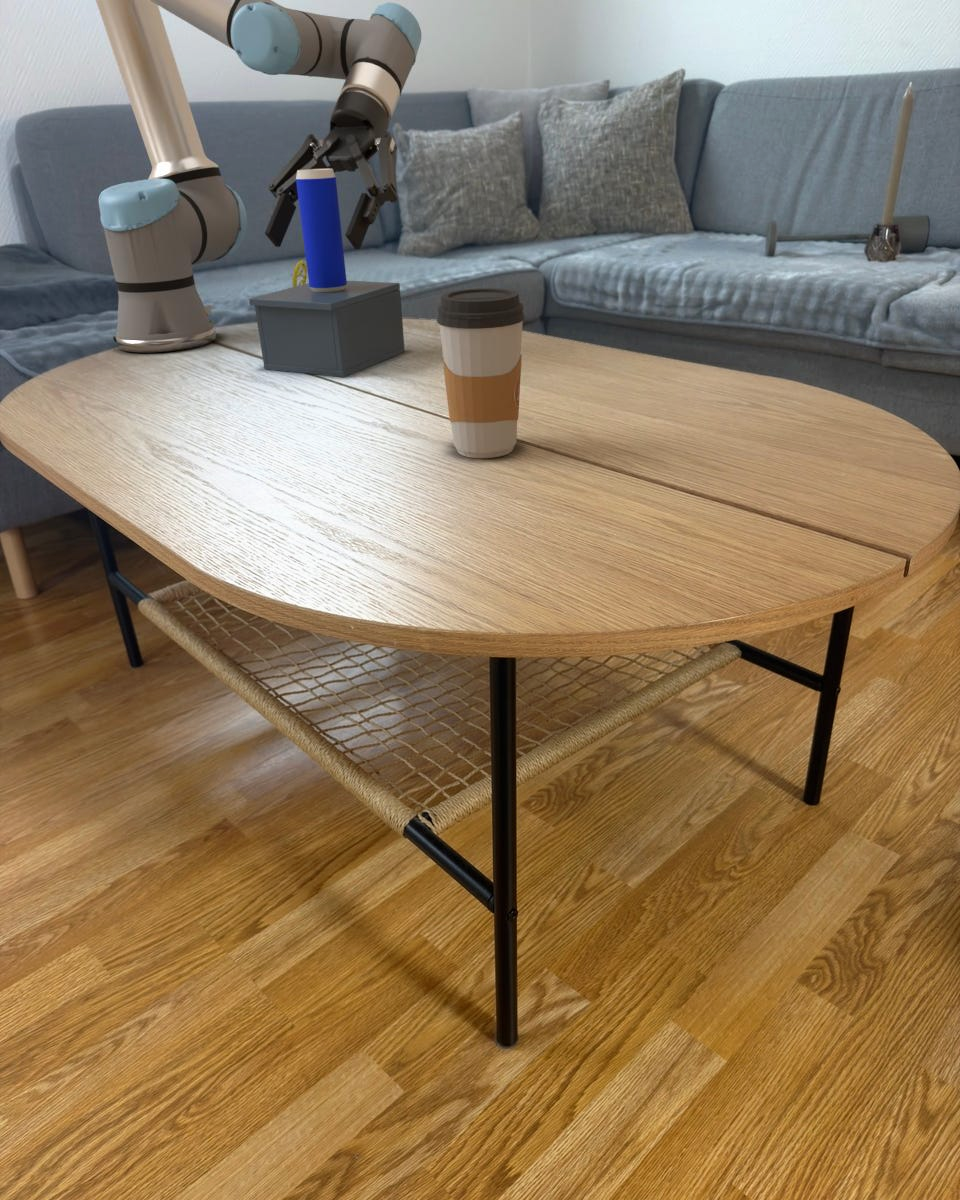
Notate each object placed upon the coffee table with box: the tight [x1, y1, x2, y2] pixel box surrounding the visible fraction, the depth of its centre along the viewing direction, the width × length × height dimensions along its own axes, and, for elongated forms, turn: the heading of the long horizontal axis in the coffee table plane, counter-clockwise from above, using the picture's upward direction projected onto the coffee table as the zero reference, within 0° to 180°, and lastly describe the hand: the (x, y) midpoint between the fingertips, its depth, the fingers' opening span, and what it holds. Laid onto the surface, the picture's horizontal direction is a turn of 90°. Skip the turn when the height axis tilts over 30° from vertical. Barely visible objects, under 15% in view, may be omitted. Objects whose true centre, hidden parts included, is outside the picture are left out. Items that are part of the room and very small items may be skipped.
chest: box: [254, 289, 406, 378], centre depth 123 cm, size 16×14×9 cm
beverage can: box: [296, 169, 348, 293], centre depth 117 cm, size 5×5×15 cm
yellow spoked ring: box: [292, 260, 308, 287], centre depth 145 cm, size 13×3×10 cm
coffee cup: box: [436, 287, 526, 459], centre depth 85 cm, size 8×8×15 cm
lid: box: [248, 280, 401, 310], centre depth 120 cm, size 16×14×1 cm
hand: (311, 241), depth 115 cm, fingers open, 12 cm apart
